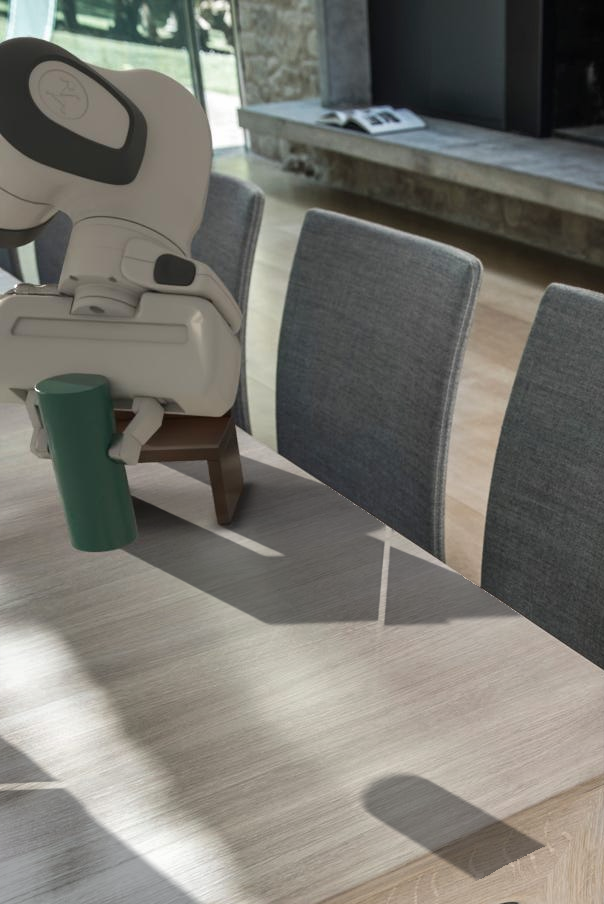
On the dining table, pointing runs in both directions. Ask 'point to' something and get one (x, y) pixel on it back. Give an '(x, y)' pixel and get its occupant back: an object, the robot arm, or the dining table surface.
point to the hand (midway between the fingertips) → (83, 459)
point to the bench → (198, 451)
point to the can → (87, 461)
